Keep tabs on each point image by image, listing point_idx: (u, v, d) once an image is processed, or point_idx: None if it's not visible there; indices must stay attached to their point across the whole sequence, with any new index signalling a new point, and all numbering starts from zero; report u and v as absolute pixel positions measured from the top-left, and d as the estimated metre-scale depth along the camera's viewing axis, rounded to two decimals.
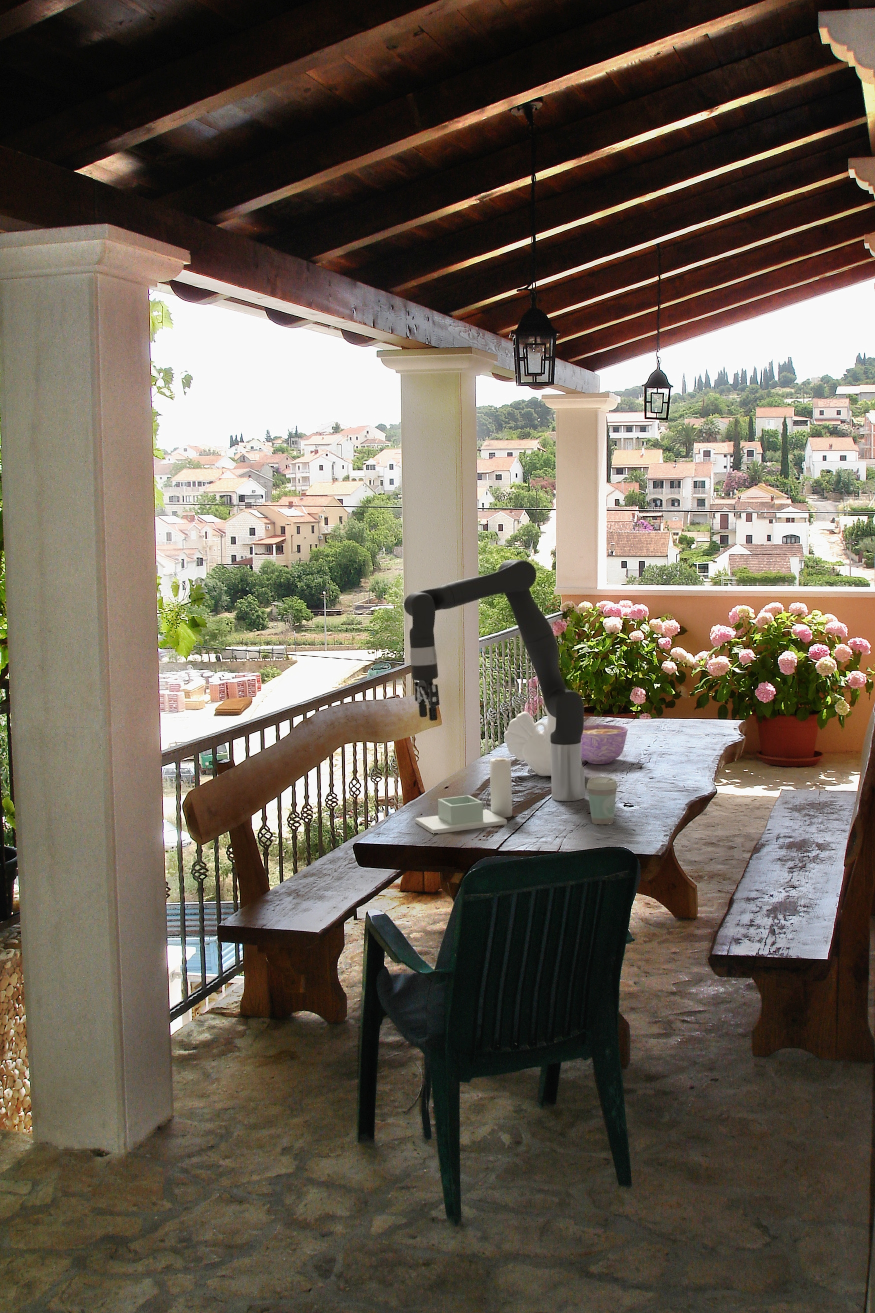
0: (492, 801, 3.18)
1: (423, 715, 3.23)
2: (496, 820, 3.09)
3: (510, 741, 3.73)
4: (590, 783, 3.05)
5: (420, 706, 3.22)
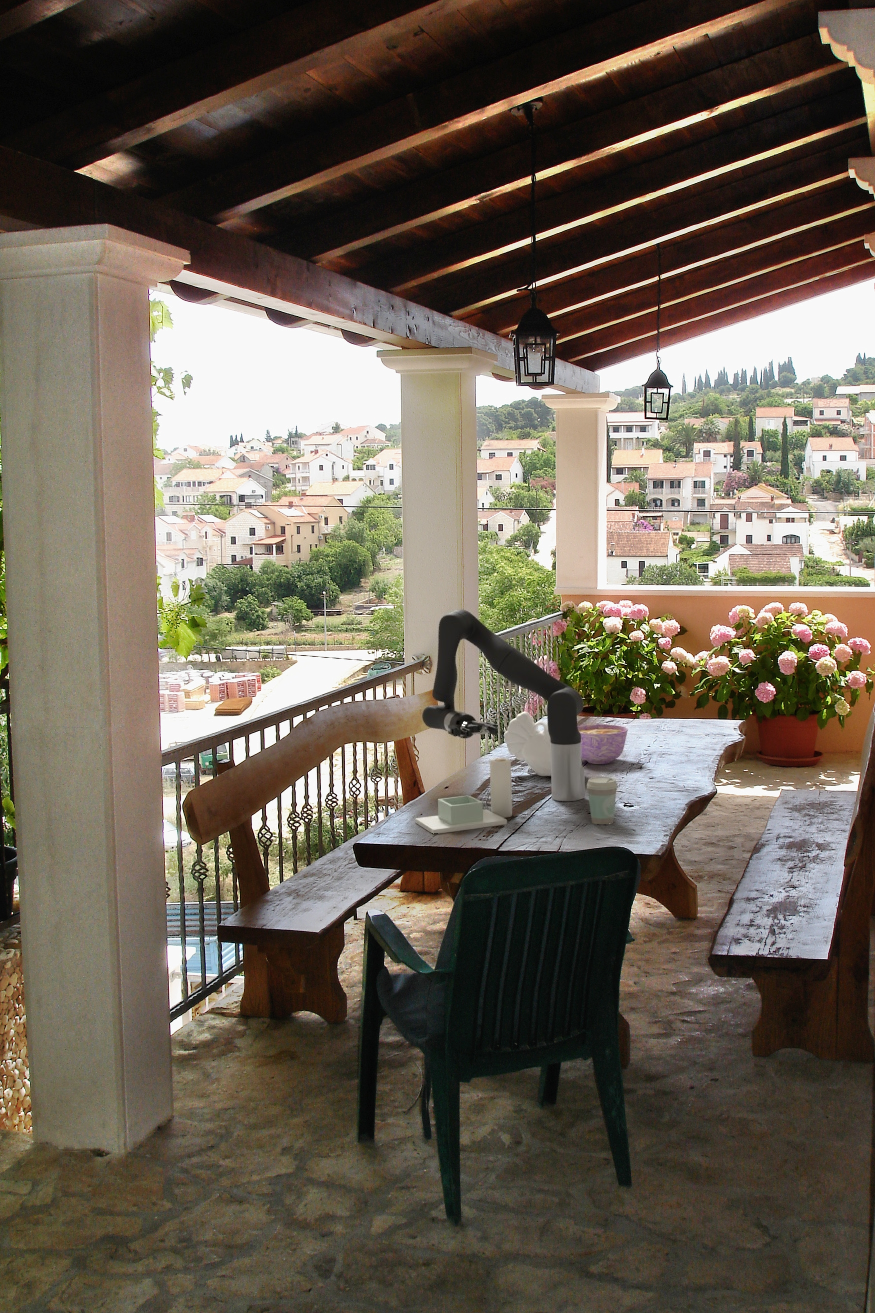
0: (492, 801, 3.18)
1: (494, 731, 3.31)
2: (496, 820, 3.09)
3: (510, 741, 3.73)
4: (590, 783, 3.05)
5: (490, 732, 3.33)
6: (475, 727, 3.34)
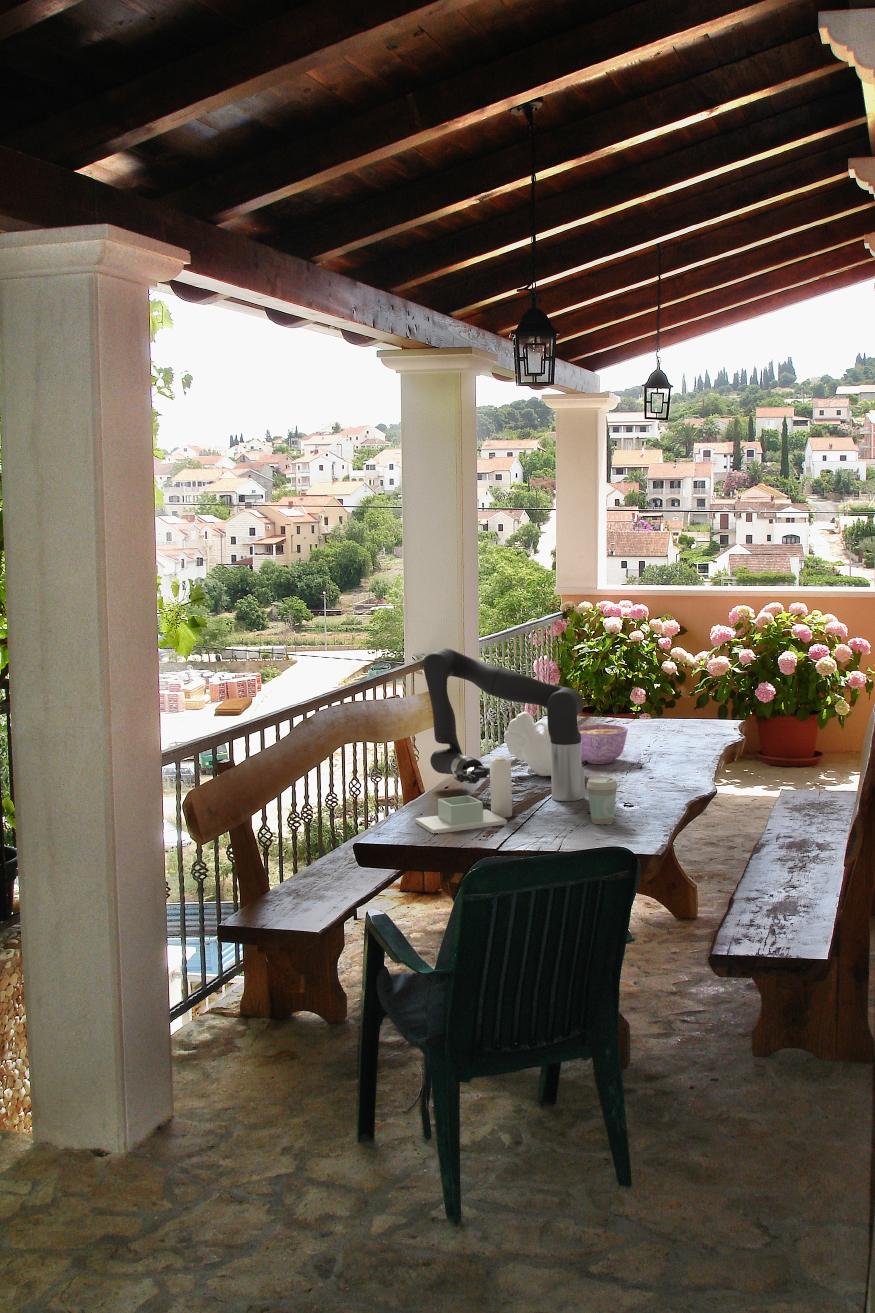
0: (492, 801, 3.18)
1: None
2: (496, 820, 3.09)
3: (510, 741, 3.73)
4: (590, 783, 3.05)
5: None
6: (481, 772, 3.33)
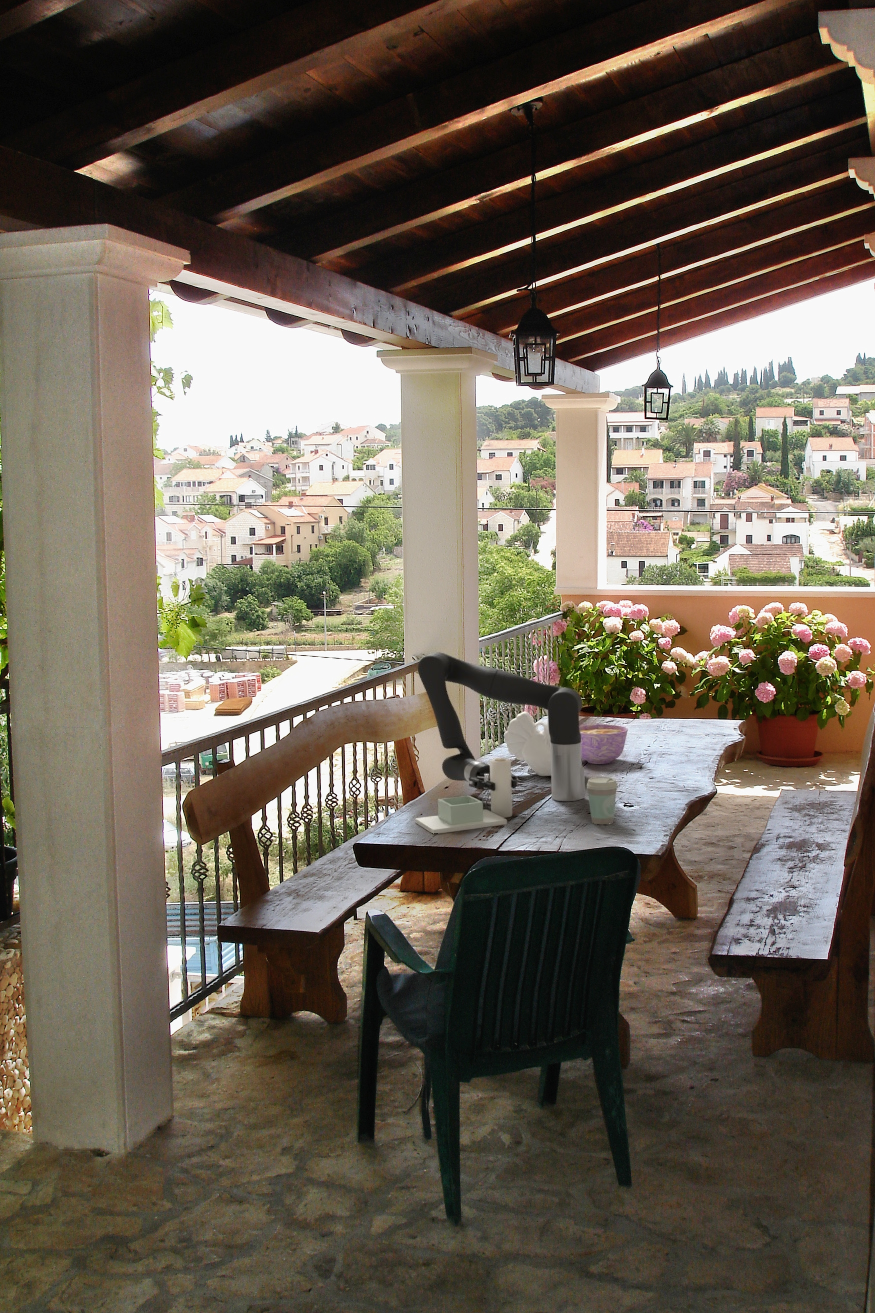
0: (492, 801, 3.18)
1: (513, 784, 3.18)
2: (496, 820, 3.09)
3: (510, 741, 3.73)
4: (590, 783, 3.05)
5: None
6: None
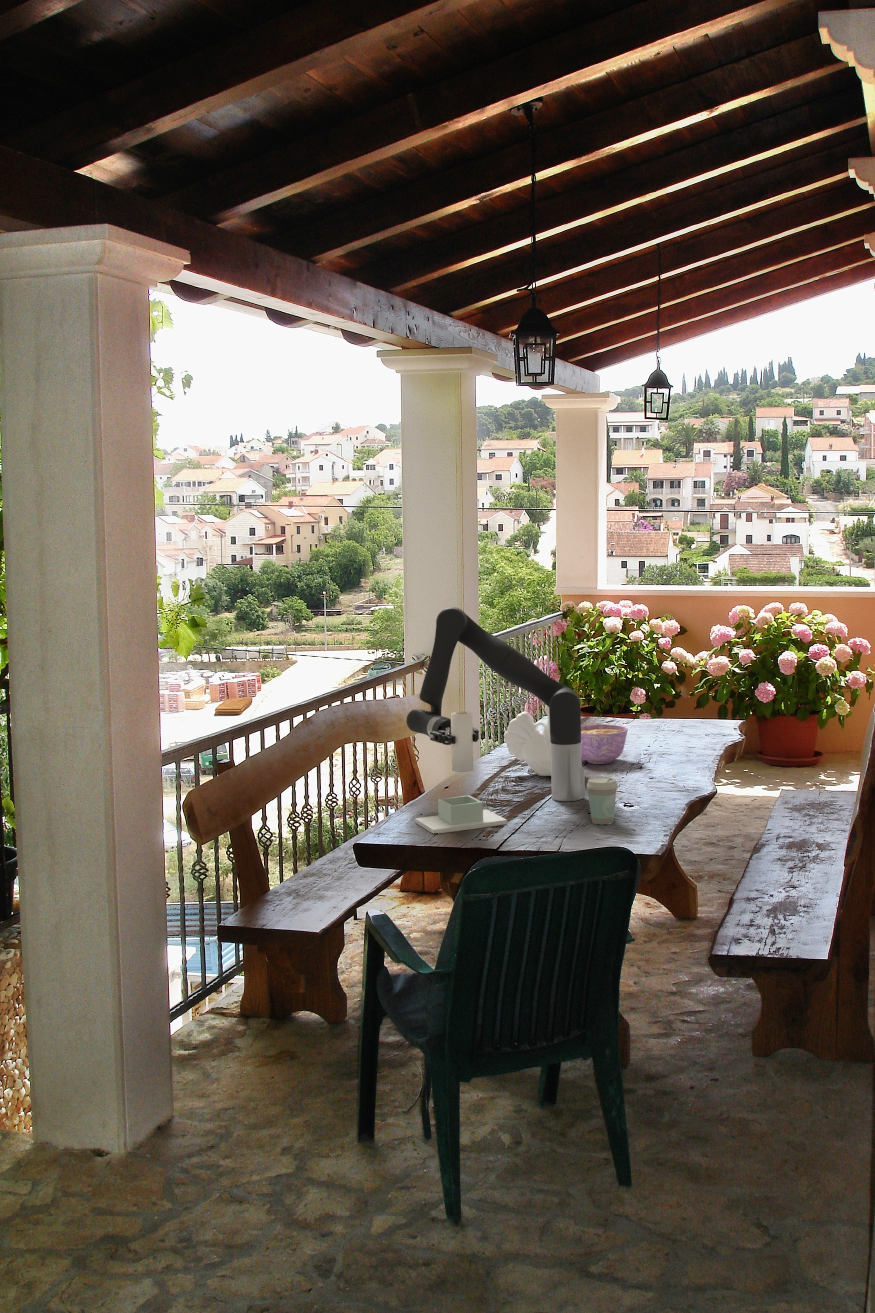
0: (453, 755, 3.10)
1: (474, 738, 3.10)
2: (496, 820, 3.09)
3: (510, 741, 3.73)
4: (590, 783, 3.05)
5: None
6: None
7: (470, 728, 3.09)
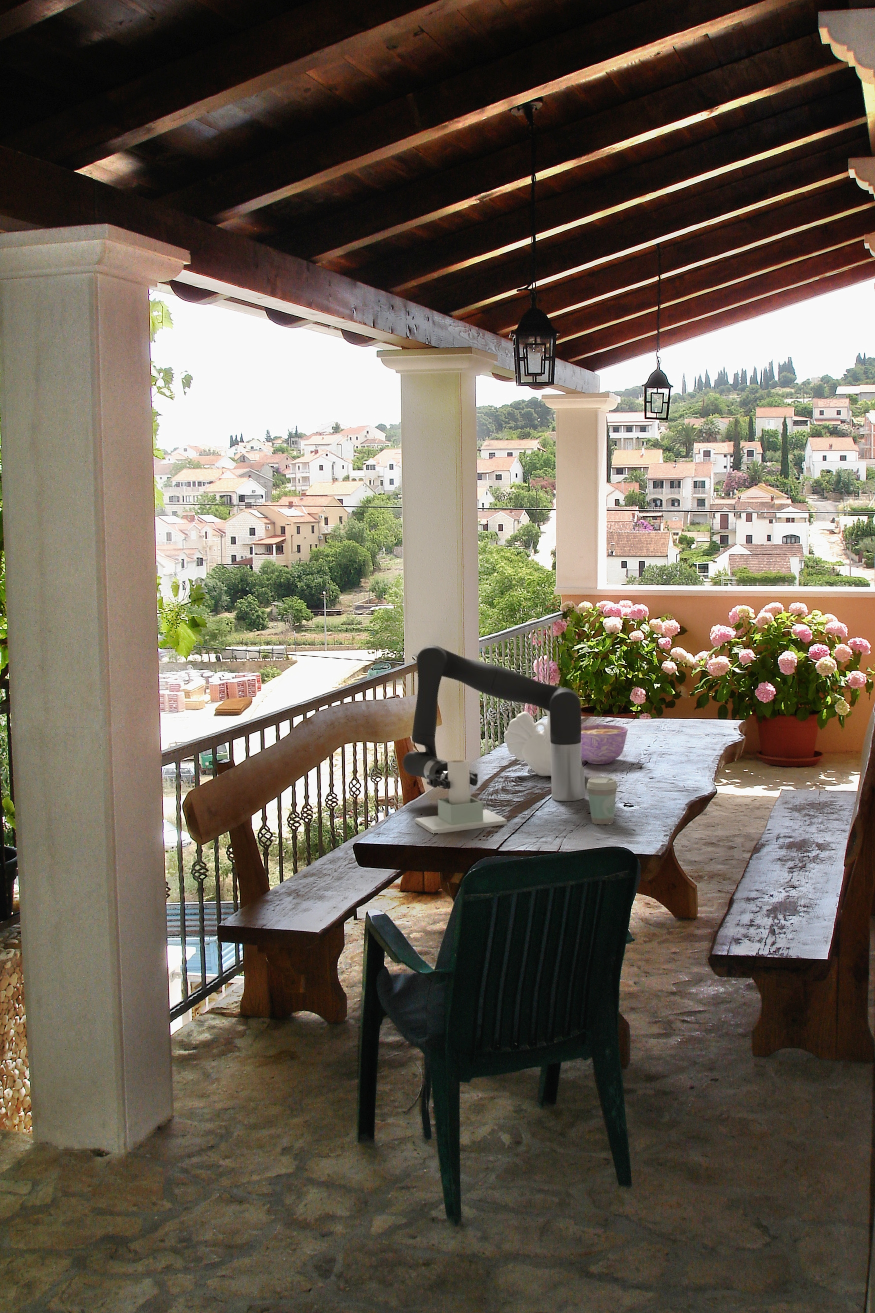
0: None
1: (473, 782, 3.11)
2: (496, 820, 3.09)
3: (510, 741, 3.73)
4: (590, 783, 3.05)
5: None
6: None
7: (467, 776, 3.10)
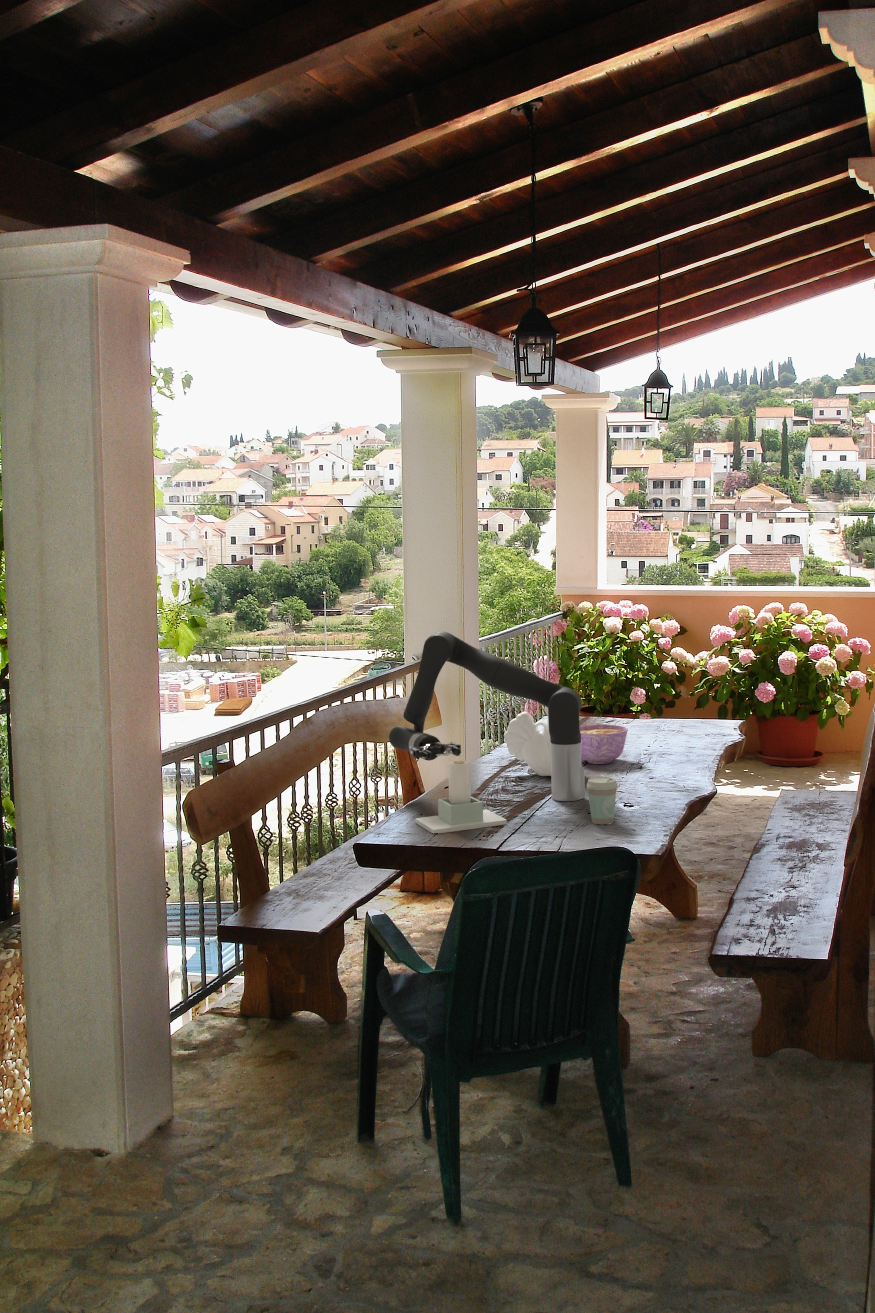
0: None
1: (456, 752, 3.22)
2: (496, 820, 3.09)
3: (510, 741, 3.73)
4: (590, 783, 3.05)
5: (453, 753, 3.25)
6: (438, 748, 3.26)
7: (468, 778, 3.09)
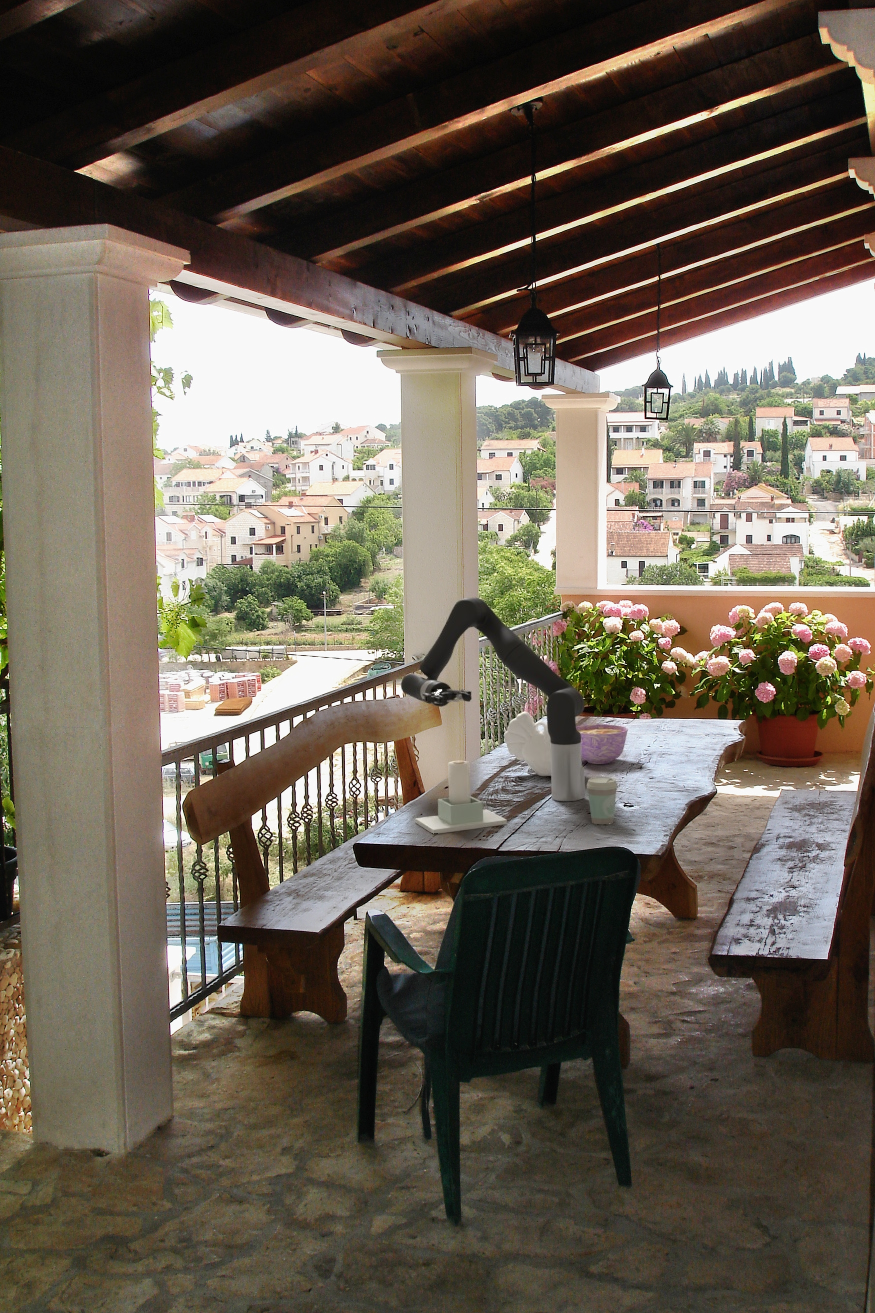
0: None
1: (467, 698, 3.32)
2: (496, 820, 3.09)
3: (510, 741, 3.73)
4: (590, 783, 3.05)
5: (464, 699, 3.35)
6: (449, 694, 3.36)
7: (467, 778, 3.09)
